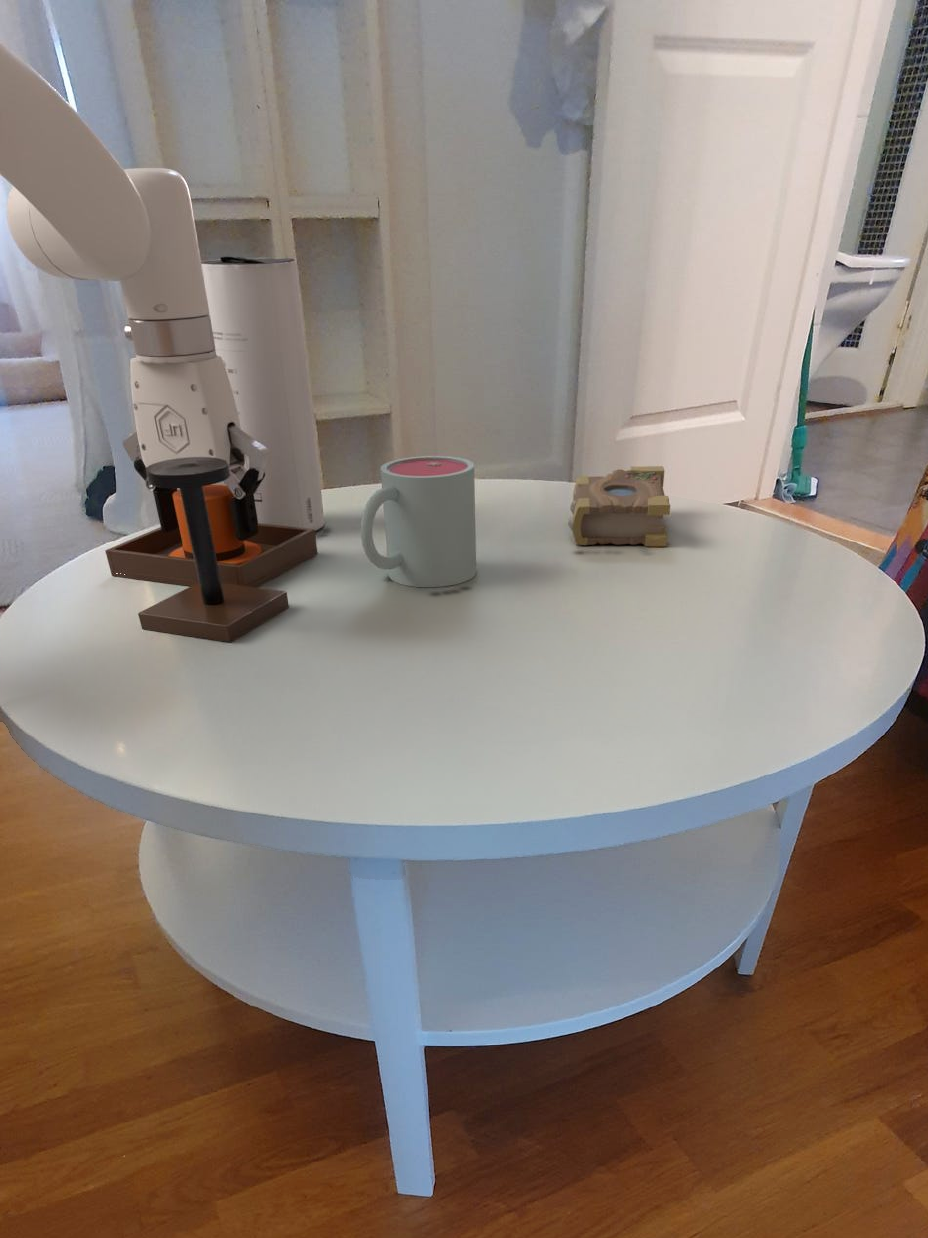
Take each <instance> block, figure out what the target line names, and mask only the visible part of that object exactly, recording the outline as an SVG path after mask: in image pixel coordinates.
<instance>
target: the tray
mask: <svg viewBox="0 0 928 1238" xmlns="http://www.w3.org/2000/svg"><path fill="white" fill-rule="evenodd" d="M244 541H248V542H252V543H255V544H257V545H259V546H260V547H261V549H262V553H261V554H259V555H257V556H256V557H254V558H252V559H250V560H248V561H246V562H244V563H242V564H240V565H239V564H230V563H222V562H217V564H218V569H219V574H220V580H221V583H225V584H233V585H241V586H248V587H256V588H259V587H260V586H262V585H264V584H265V583H267V582H269V581H271V580H273V579H274V578H276V577H278V576H280V575H282V574H285V572H287V571H289V570H291V569H293V568H294V567H296V566H299V565H300V564H302V563H303V562H305V561H307V560H309V559H311V558H313V557H314V556H316V555H318V554H319V553H318V545H317V538H316V531H315V530H314V529H309V528H300V527H290V526H280V525H271V524H261V523H258V534H257V535H255V536H253V537H251V538H249V539H246V540H244ZM181 547H183V543H182V538H181V533H180V529H179V528H177V529H175V530H172V531H170V532H163V531H162V530H161V526H160V527H157V528H155V529H153V530H150V531H148V532H146V533H143V534H141V535H138V536H135V537H133V538H131V539H129V540H126V541H124V542H121V543H119V544H116V545H114V546H112V547H110V548H107V549H105V555H106V560H107V563H108V566H109V570H110V574H111V576H112V577H118V578H126V579H127V578H128V579H134V580H139V581H140V580H141V581H147V582H148V581H149V582H156V583H163V584H171V585H178V586H185V587H191V586H193V585H195V584H196V583H198V582H199V580H198V576H197V571H196V566H195V561H194V559H189V558H180V557H172V556H169V555H170V553H172V552H173V551H174V550H176V549H178V548H181ZM116 573H118V574H116ZM120 573H121V574H120ZM124 574H125V575H124Z"/></svg>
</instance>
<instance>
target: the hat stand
mask: <svg viewBox="0 0 928 1238" xmlns="http://www.w3.org/2000/svg"><path fill="white" fill-rule="evenodd" d="M146 473H147V478H148V482H149V484H151V485H153V486H156V487H161V488H177V489H179V490H180V493H181V498H182V502H183V507H184V512H185V517H186V522H187V527H188V532H189V537H190V541H191V546H192V551H193V556H194V561H195V566H196V571H197V576H198V580H199V582H198V583H196V584H195V585H193V586H188V587H187V588H185V589H182V590H181V591H179V592H176V593H175V594H173V595H171V596H168V597H167V598H165V599H162V600H161V601H159V602H157V603H155V604H153V605H151V606H149V607H147V608H146V609H143V610H141V611H138V613H137V615H138V619H139V622H140V626H141V629H142V630H146V631H154V632H160V633H166V634H173V635H179V636H186V637H193V638H198V639H199V638H200V639H204V640H212V641H217V642H226V643H232V642H233V641H235V640H236V639H238V638H240V637H241V636H243V635H245V634H246V633H248V632H250V631H251V630H253V629H254V628H256V627H258V626H260V625H261V624H264V623H265V622H266V621H268V620H269V619H271V618H273V617H274V616H277V615H278V614H279V613H281V612H283V611H285V610H286V609H288V608H289V607H290V604H289V598H288V592H287V591H286V590H279V589H271V588H263V587H248V586H241V585H233V584H225V583H221V580H220V574H219V569H218V564H217V559H216V553H215V548H214V543H213V538H212V532H211V527H210V522H209V516H208V511H207V506H206V501H205V495H204V490H203V486H207V485H217V484H218V483H219V484H220V483H222V482H224V480H226V479H228V478H229V476H230V472H229V467H228V463H227V461H225V460H223V459H219V458H212V457H188V458H178V459H171V460H165V461H161V462H157V463H154V464H152V465H150V466H148V467H147V468H146Z"/></svg>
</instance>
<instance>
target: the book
mask: <svg viewBox="0 0 928 1238" xmlns="http://www.w3.org/2000/svg"><path fill="white" fill-rule="evenodd" d="M664 480H665V468H664V466H663V465H658V466H657V465H656V466H655V465H654V466H652V465H651V466H630V470H624V469H614V470H613V471H612V473H608V474H606V475H605V476H589V475H582V476H579V475H578V477H577V479H576V482H575V484H574V488H573V492H572V493H573V494H572V502H570V506H569V510H570V512H571V513H572V516H571V517H570V518H569V519H568V521H567V525H568V527H569V529H570V530H571V531H572V534H573V537H574V541H575V544H576V546H587V545H588V546H589V545H590V546H591V545H592V546H593V545H596V544H599V545H607V544H612V545H627V544H629V545H640V544H641V545H644V547H667V544H668V533H667V529H666V527H665V526H663V523H664V516H670V515H671V504H670V497H669V495H665V491H664V482H665V481H664Z"/></svg>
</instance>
